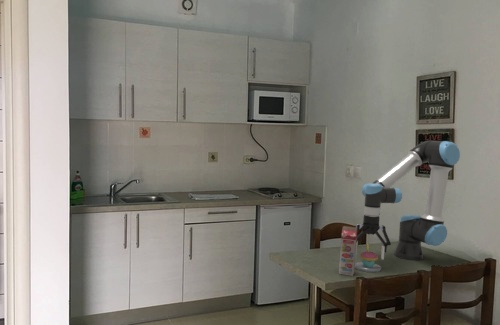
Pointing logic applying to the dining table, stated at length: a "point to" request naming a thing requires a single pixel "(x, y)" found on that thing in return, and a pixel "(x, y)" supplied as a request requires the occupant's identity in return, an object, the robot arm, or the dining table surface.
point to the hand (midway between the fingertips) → (368, 257)
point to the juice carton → (348, 250)
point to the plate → (367, 269)
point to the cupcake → (368, 257)
